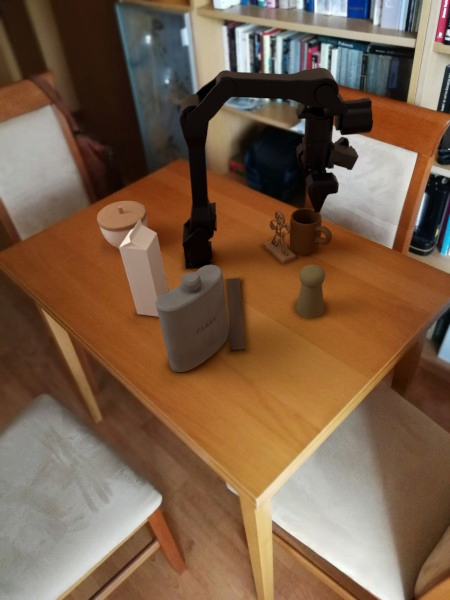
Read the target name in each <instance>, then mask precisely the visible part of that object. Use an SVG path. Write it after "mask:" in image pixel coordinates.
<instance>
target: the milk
mask: <svg viewBox="0 0 450 600" xmlns="http://www.w3.org/2000/svg"><path fill="white" fill-rule="evenodd" d="M118 250H119V253H120V257H121V260H122V263H123V267H124V270H125V275H126V278H127V281H128V285H129V289H130V292H131V295H132V299H133V303H134V306H135V310H136V314H137V315H142V316H149V317H150V316H151V317H157V318H159V316H158V312H157V308H156V303H155V302H156V299H157V298H158V297H159V296H160V295H162V294H164V293H166V292H168V291H170V290H169V285H168V281H167V275H166V272H165V271H166V270H165V266H164V263H163V256H162V252H161V247H160V242H159V237H158V232H156V231H154V230H152V229H150V228H149V227H148V228H147V227H145V226H143V225H142V223H141V219H140V220H139V221H138V223H137V224H136V226H135V227H134V229H132V230H130V232H129V233H128V235H127V236H126V238H125V239H124V241H123V242H122V244H121V245H120V247H119V249H118Z"/></svg>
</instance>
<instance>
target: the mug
mask: <svg viewBox="0 0 450 600" xmlns="http://www.w3.org/2000/svg"><path fill="white" fill-rule="evenodd" d="M322 223H323V222H322V214H321V212H319V213H315V211H314V209H313V208H311V207H301V208H297V209H295V210H294V211H292V212H291V215H290V221H289V225H290V227H291V231H290V233H289V248H290V251H292V252H293V253H294V254H295V255H299V256H310V255H314V254H315V253H316V252H317V251H319V249H320V247H321V246H327V245H329V244H330V243H331V242H332V239H333V234H332V231H331V229H330V228H329V227H327V226H326V225H322ZM322 233H323V235H324V237H323V236H321V235H322Z"/></svg>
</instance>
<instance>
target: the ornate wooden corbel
mask: <svg viewBox="0 0 450 600" xmlns="http://www.w3.org/2000/svg"><path fill="white" fill-rule="evenodd" d="M273 222H274V223H273ZM275 223H276V225H275ZM269 229H270V230H271V231H275V232H274V235H273V237H272V239H270V240H268V241H266V242H264V243H263V247H264V248H265V249H266V250H267V251H268V252H269V253H271V254H272V255H273V256H274V257H275V258H276V259H277V260H278V261H279V262H280V263H282V264H287V263H288V262H291V261H293V260H295V259H297V254H296V253H294V252H293V251H292V250H291V249H289V248H288V247H287V243H286V240H285V236H286V235H290V231H291V227H290V223H288V222H286V216H285V214H284V212H283V211H282V210H280V209H279V210H275V212H274V218H273V219H271V220H270V221H269ZM282 229H285V230H286V232H285V231H282ZM277 237H278V238H279V239H278V238H277Z"/></svg>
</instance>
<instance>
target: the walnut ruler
mask: <svg viewBox="0 0 450 600" xmlns="http://www.w3.org/2000/svg"><path fill="white" fill-rule="evenodd" d="M226 287H227V288H226V289H227V307H228V331H229V347H230V349H229V350H230V352H244V351H246V343H245V332H244V331H245V329H244V317H243V304H242V293H241V279H240V277H235V278H227V279H226Z"/></svg>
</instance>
